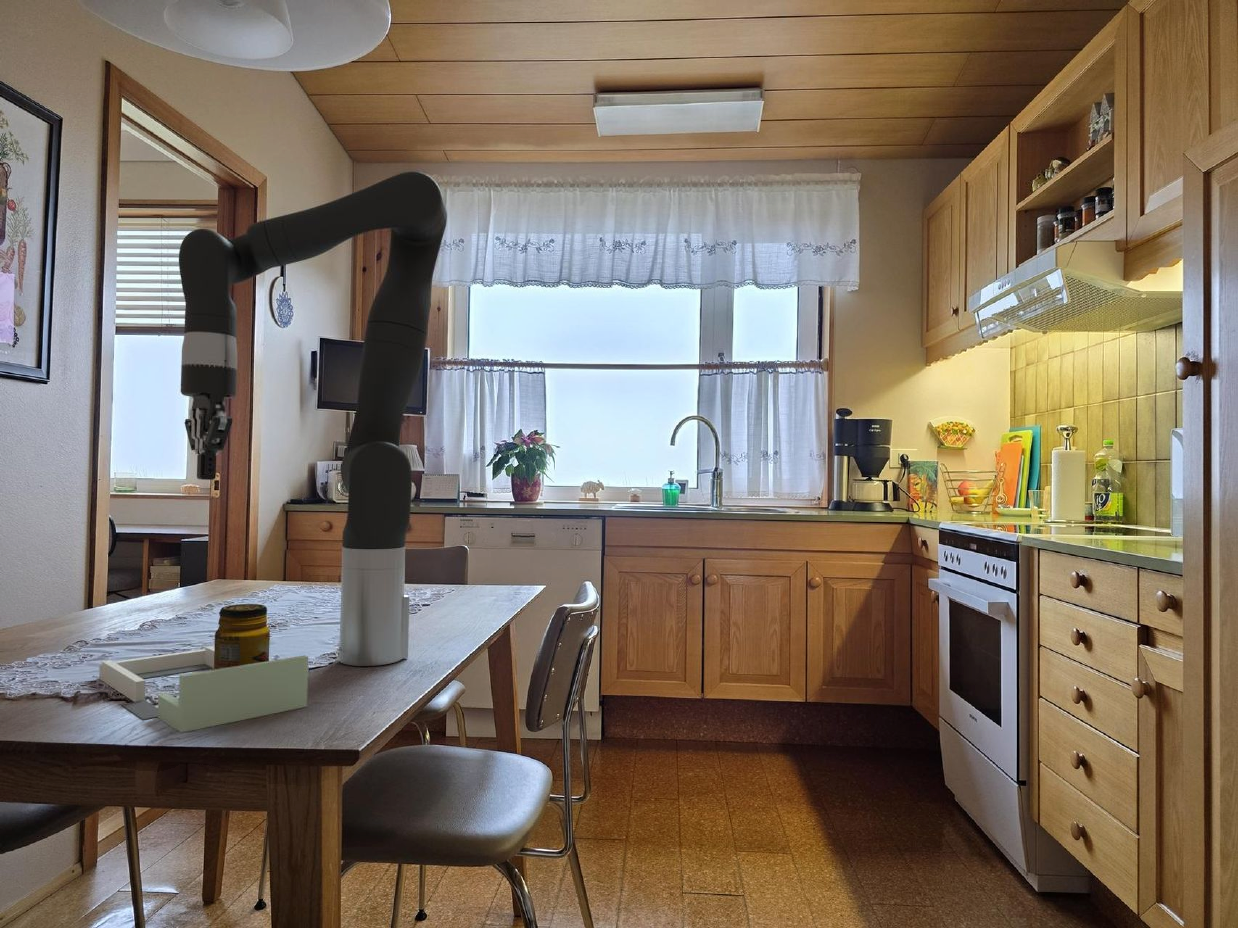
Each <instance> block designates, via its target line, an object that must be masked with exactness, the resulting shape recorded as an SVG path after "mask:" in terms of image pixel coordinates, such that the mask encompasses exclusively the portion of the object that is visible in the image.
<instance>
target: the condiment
mask: <svg viewBox="0 0 1238 928" xmlns="http://www.w3.org/2000/svg"><path fill="white" fill-rule="evenodd" d="M267 614H268V607H267V606H266V605H264V604H258V603H238V604H230V605H225V606H223V607H221V608H220V611H219V612H218V615H219V618H218V628H217V630H216V631H215V633H214V647H215V648H214V669H213V670H215V669H221V668H228V667H234V666H240V665H247V664H253V663H260V662H266V661H270V641H271V640H270V639H271V636H270V633H271V631H270V628H269V626H268V625H267V623H268V618H267Z"/></svg>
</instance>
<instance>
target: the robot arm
mask: <svg viewBox="0 0 1238 928" xmlns="http://www.w3.org/2000/svg"><path fill="white" fill-rule="evenodd" d="M447 221H448V211H447V206H446V203H445V200H444V197H443V194H442V191H441V188H440V187H439V185H438V184H437V181H435V180H434V178H432V177H431V176H430V175H428V174H427V173H423V172H421V171H414V170H413V171H411V170H410V171H403V172H400V173H398V174H395V175H393V176H390V177H388V178H386V179H383V180H380V181H379V182H377V183H374V184H372V185H370V186H367V187H365V188H363V189H360V190H358V191H357V190H356V191H355V192H352V193H351V194H347V195H345V196H343V197H340V198H338V199H334V200H332V201H329V202H326V203H323V204H320V205H317V206H314V207H311V208H307V209H304V210H300V211H296V212H292V213H287V214H284V215H279V216H276V217H271V218H268V219H267V218H266V219H264V220H259V221H257V222H254V223H252V224H250V225H249V226H248V228H247V230H246V233H244V234H241V235H239V236H237V237H233V238H229V239H227V238H225V237H224V236H222V235H221V234H220V233H218V232H216V231H214V230H211V229H209V228H198V229H194V230H192V231H191V232H188V234H186V235H185V237H184V238H183V240H182V241H181V244H180V247H179V252H178V267H179V275H180V282H181V288H182V293H183V297H184V302H185V303H184V304H185V312H184V329H183V330H184V331H183V332H184V334H183V335H184V336H183V342H182V346H181V364H180V365H181V366H180V369H181V370H180V393H181V395H183V396H185V397H191V398H192V399H193V400H192V405H191V408H190V409H189V418H185V420H184V427H185V430H186V434H187V438H188V442H189V446H190V450H191V451H194V453H195V455H197V457H196V458H197V459H196V479H197V480H205V481H211V480H215V479H216V477H217V474H216V473H217V456H218V455H219V454H220V451H224V448H225V445H226V441H227V439H228V436H229V434H230V430H231V428H232V424H233V418H232V416H227V410H226V407H227V406H226V403H225V401H226V400H229V399H234V398H236V397H237V382H238V380H237V379H238V345H237V321H238V320H237V319H238V318H237V317H238V316H237V307H236V304H235V303H234V301H233V299H232V298H231V295H230V286H231V285H236V284H239V283H242V282H245V281H247V280H250V279H252V278H254V277H256V276H258V275H261V274H263V273H264V272H267V271H269V270H270V269H272V268H278V267H282V266H287V265H291V264H296V263H299V262H302V261H306V260H309V259H312V258H315V257H318V256H320V255H322V254H324V253H326V252H328V251H330V250H332V249H333V248H336V247H337V246H338V245H340V244H342V243H344V242H346V241H348V240H350V239H352V238H354V237H356V236H359V235H362V234H365V233H369V232H372V231H378V230H384V229H390V244H389V253H388V262H387V267H386V272H385V274H384V276H383V280H382V281H381V284H380V286H379V288H378V290H377V291H376V294H375V296H374V298H373V300H372V302H371V303H372V304H371V306H370V310H369V313H368V316H367V322H366V326H365V327H366V328H365V334H364V339H363V345H362V346H363V347H362V354H361V361H360V370H359V377H358V378H359V379H358V390H357V402H356V409H355V414H354V419H353V422H352V426H351V430H350V433H349V436H348V437H349V438H348V441H347V444H346V447H345V451H344V455H343V457H342V461H341V466H340V475H341V476H340V477H341V481H342V484H343V486H344V488H345V490H346V491H347V492H348V498H347V499H348V501H347V516H346V521H345V522H346V523H345V524H344V527H343V530H342V538H341V539H342V547H341V578H340V580H341V582H340V587H341V588H340V611H339V612H340V613H339V616H340V619H339V621H340V623H339V646H338V650H339V652H338V653H339V656H338V661H339V662H340V663H341V664H342V665H343V664H344V665H348V666H356V667H370V666H381V665H388V664H392V663H397V662H399V661H401V660H403V659H407V658H408V657H409V636H410V635H409V634H410V633H409V632H410V630H409V629H410V627H409V626H410V596H409V595H407V594H405V575H406V574H405V572H406V571H405V570H406V569H405V568H406V567H405V566H406V540H407V539H406V538H407V537H406V536H407V533H408V530H409V527H410V521H411V507H412V506H411V505H412V492H413V491H412V489H413V477H412V476H413V472H412V465H411V462H410V459H409V458H408V455H407V454H406V453H405V452H404V451H403V449H402V448H400V439H401V433H402V432H401V428H402V423H403V422H402V421H403V419H404V415H405V411H406V409H407V406H408V403H409V400H410V398H411V396H412V393H413V391H414V388H415V385H416V383H417V382H418V381H417V380H418V378H419V375H420V372H421V369H422V366H423V360H424V357H425V350H426V344H427V338H428V330H429V322H430V313H431V303H432V302H431V301H432V287H433V285H432V284H433V277H434V271H435V266H436V263H437V260H438V255H439V252H440V248H441V245H442V241H443V238H444V234H445V231H446V227H447V223H448V222H447Z"/></svg>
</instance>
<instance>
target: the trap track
mask: <svg viewBox="0 0 1238 928" xmlns="http://www.w3.org/2000/svg"><path fill="white" fill-rule="evenodd" d="M214 648H215V646H214V645H213V646H212V645H211V646H205V647H204V648H203V649H196V650H190V651H183V652H182V651H181V652H175V653H167V654H161V655H155V656H145V657H140V658H139V657H138V658H131V659H125V660H123V659H122V660H117V661H113V660H111V659H108V660H102V661H101V663H99V667H98V669H99V670H98V673H99V674H98V679H99V680H101V681H102V682H104V683H105V684H106V685H108V686H110V687H111V688H112V689H114V690H116V691H118V693H120V694H122V695H123V696H125V697H127V698H128V699H129V700H131V701H132V702H126V703H121V704H120V705H121V706H122V707H123V708H125V709H126V710H128V711H129V712H131V713H132V714H134V715H135V716H136V717H138V718H139V719H141V720H142V721H144V720H150V719H155V718H158V719H160V720H162V721H163V722H165V724H168V725H169V726H170V727H172V728H174V729H175V730H176V731H178V732H179V733H186V732H190V731H195V730H200V729H205V728H209V727H215V726H219V725H223V724H229V723H234V722H238V721H244V720H248V719H253V718H258V717H262V716H268V715H274V714H278V713H282V712H287V711H292V710H297V709H301V708H306V707H307V706H308V685H309V684H308V683H309V681H308V679H309V656H307V655H299V656H293V657H287V658H286V657H285V658H281V659H273V660H269V661H266V662H260V663H253V664H247V665H240V666H234V667H228V668H221V669H215V670H214ZM207 669H209V670H207ZM210 669H211V670H210ZM203 670H204V671H203ZM197 671H198V672H197ZM190 672H191V673H190ZM182 673H183V674H182ZM184 673H185V674H184ZM178 674H179V678H178V679H179V684H178V686H179V687H178V698H176V697H175V696H173V695H172V694H170V693H163V694H159V695H157V699H158V701H157V707H156V706H155V705H153V704H152V703H150V702H148V700H147V701H146V679H150V678H158V677H163V676H170V675H178Z"/></svg>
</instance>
